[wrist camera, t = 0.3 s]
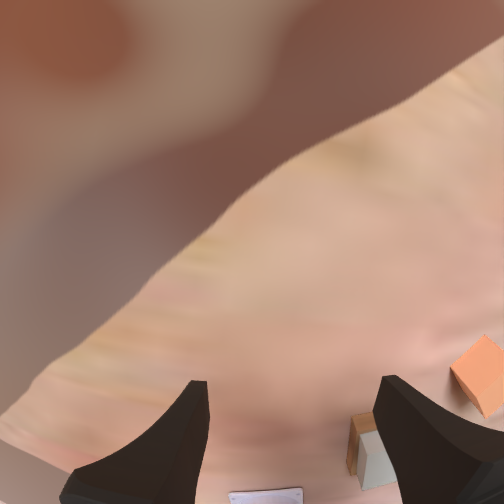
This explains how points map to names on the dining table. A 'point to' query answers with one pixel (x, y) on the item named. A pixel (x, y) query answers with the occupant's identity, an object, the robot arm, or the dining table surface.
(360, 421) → the bottom slab
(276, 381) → the dining table surface
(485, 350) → the peach foam cube
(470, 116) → the dining table surface
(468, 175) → the dining table surface
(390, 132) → the dining table surface
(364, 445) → the top slab
